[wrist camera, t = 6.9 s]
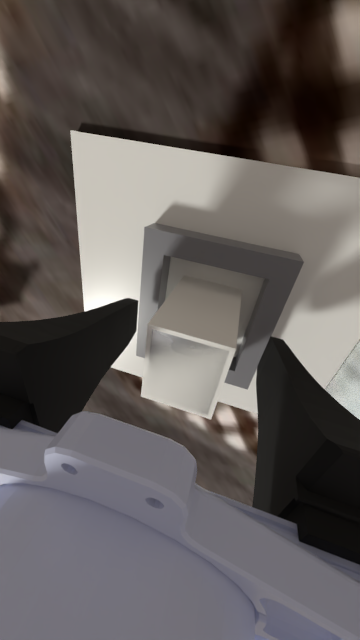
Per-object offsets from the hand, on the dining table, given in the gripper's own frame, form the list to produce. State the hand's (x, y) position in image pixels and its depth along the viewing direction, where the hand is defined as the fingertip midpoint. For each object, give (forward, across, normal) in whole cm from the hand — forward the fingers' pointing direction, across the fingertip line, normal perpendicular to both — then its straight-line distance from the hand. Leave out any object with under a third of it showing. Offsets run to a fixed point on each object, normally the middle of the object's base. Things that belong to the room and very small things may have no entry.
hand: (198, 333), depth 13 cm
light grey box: (+3, 0, 0) cm, 3 cm away
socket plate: (+3, 0, 0) cm, 3 cm away
